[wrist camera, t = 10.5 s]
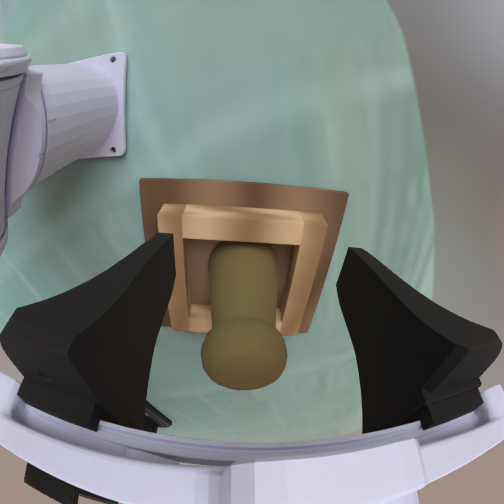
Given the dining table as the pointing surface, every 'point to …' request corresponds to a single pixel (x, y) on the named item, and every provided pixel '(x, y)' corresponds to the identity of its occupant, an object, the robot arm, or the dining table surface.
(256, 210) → the socket block
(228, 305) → the cork
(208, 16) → the dining table surface
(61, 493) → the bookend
